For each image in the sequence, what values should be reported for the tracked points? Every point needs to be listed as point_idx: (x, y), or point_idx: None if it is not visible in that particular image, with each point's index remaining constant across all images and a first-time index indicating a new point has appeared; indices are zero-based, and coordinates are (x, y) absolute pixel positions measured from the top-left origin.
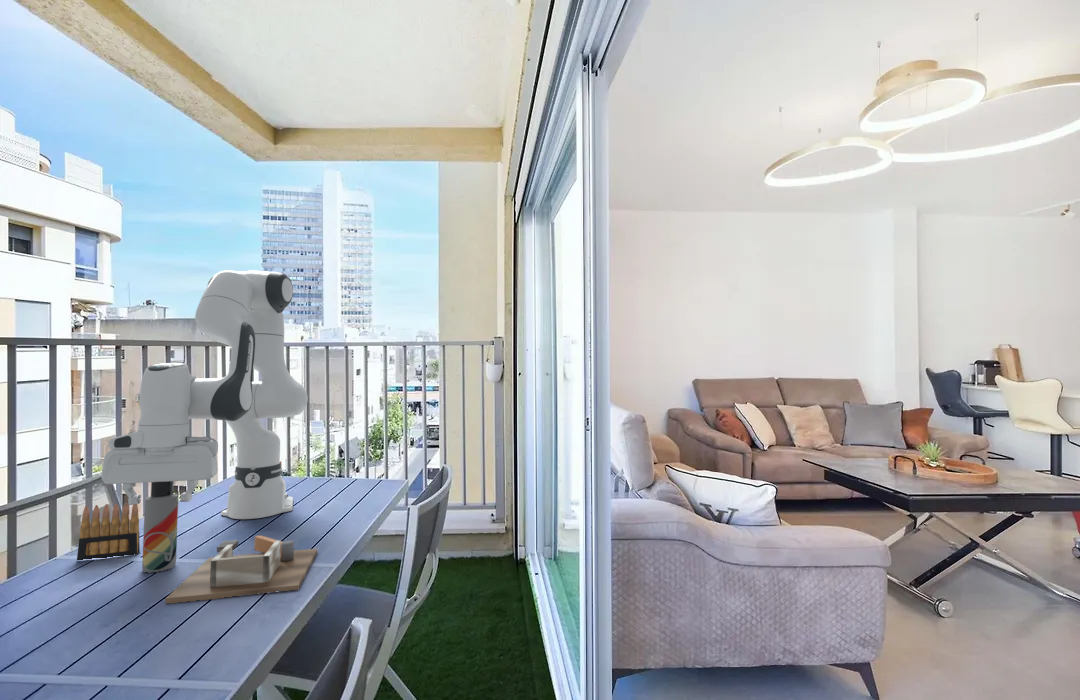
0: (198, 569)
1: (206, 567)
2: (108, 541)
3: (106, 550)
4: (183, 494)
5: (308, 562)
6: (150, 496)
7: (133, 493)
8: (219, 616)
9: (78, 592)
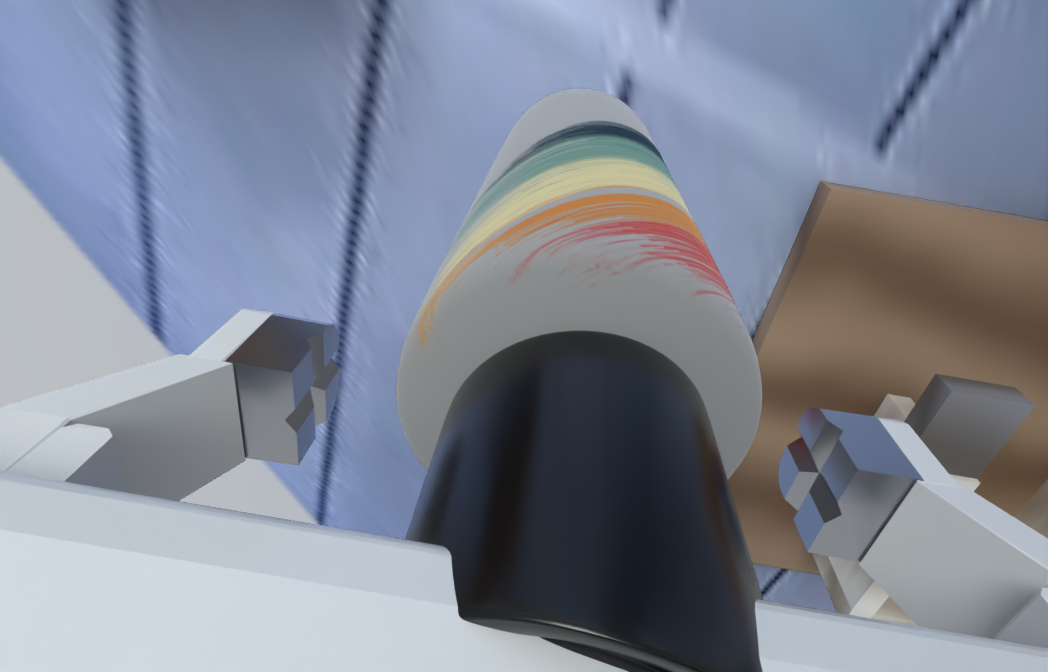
0: (770, 347)
1: (805, 338)
2: None
3: None
4: (838, 552)
5: None
6: (429, 390)
7: (207, 425)
8: None
9: (344, 332)
